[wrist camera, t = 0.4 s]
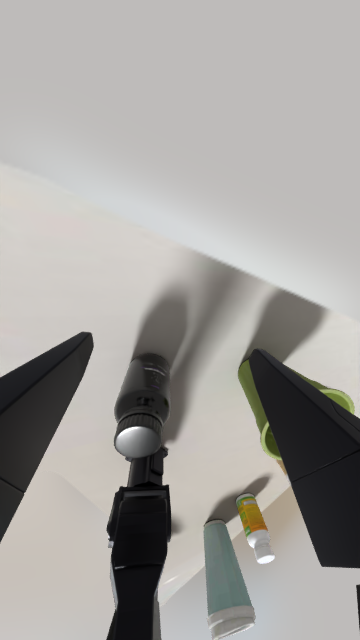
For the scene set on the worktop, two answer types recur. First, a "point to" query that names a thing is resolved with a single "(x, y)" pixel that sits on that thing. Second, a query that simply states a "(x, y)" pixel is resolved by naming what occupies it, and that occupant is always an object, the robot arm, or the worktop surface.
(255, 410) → the plant pot
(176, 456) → the worktop surface
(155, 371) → the supplement bottle
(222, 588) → the disposable coffee cup
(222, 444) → the worktop surface
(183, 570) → the worktop surface
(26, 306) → the worktop surface
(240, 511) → the supplement bottle
